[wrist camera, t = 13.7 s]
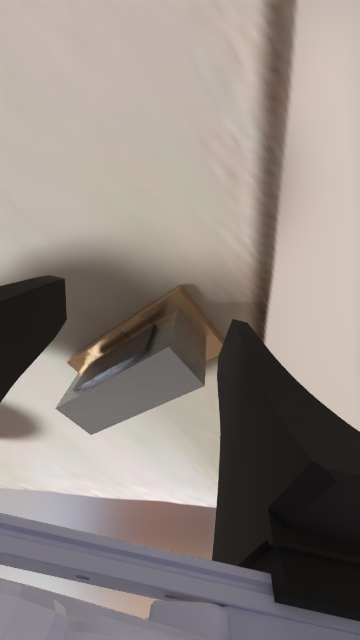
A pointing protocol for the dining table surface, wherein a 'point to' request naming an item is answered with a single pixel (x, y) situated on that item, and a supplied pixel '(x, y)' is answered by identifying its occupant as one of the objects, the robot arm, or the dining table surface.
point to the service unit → (141, 363)
